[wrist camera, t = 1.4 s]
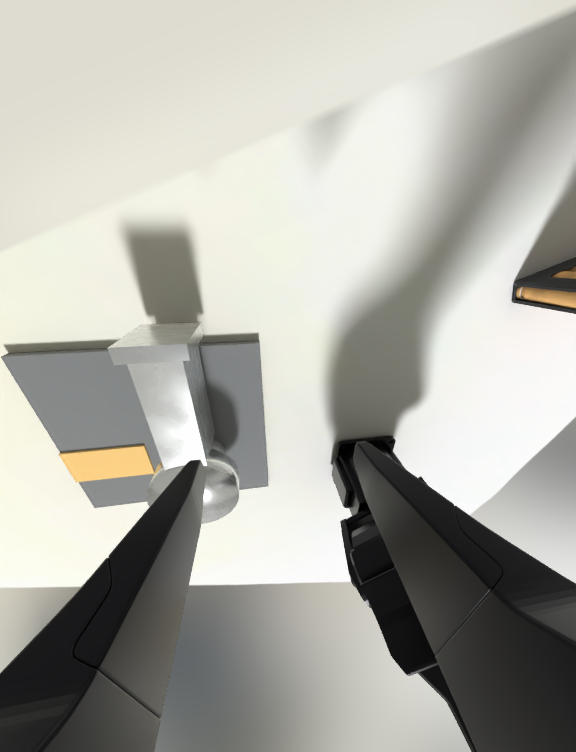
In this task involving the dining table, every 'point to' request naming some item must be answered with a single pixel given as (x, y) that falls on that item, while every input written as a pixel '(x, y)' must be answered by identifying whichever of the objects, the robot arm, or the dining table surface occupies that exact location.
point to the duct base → (138, 416)
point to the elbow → (178, 410)
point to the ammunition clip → (549, 288)
